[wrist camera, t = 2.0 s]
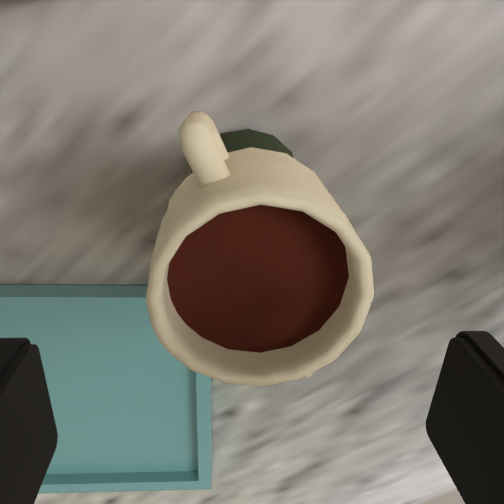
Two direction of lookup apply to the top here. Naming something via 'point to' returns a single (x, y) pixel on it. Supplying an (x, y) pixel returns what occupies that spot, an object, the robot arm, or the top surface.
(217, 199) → the character mug
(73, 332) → the tray
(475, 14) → the top surface
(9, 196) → the top surface
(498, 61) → the top surface
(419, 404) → the top surface
